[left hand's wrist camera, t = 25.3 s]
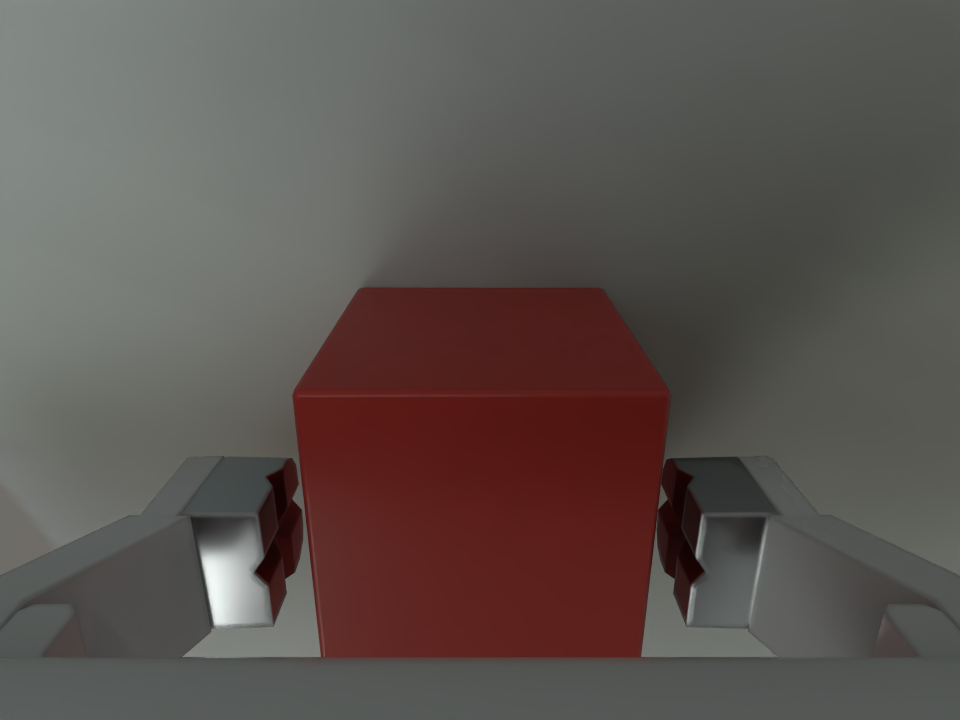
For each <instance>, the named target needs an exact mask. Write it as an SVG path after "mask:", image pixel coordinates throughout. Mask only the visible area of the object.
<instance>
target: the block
mask: <svg viewBox="0 0 960 720" xmlns="http://www.w3.org/2000/svg"><path fill="white" fill-rule="evenodd" d="M292 396H293V405H294V414H295V423H296V432H297V441H298V450H299V460H300V469H301V478H302V487H303V496H304V505H305V514H306V524H307V533H308V542H309V551H310V560H311V569H312V578H313V588H314V597H315V606H316V615H317V624H318V633H319V642H320V652H321V657H641V653H642V644H643V635H644V626H645V618H646V609H647V600H648V591H649V582H650V574H651V565H652V556H653V547H654V539H655V530H656V521H657V512H658V503H659V495H660V486H661V477H662V468H663V459H664V451H665V442H666V433H667V424H668V416H669V407H670V398H671V394H670V391H669V389H668V388H667V386H666V385H665V383H664V382H663V380H662V378H661V377H660V375H659V374H658V372H657V371H656V369H655V368H654V366H653V365H652V363H651V362H650V360H649V359H648V357H647V356H646V354H645V353H644V351H643V350H642V348H641V347H640V345H639V344H638V342H637V340H636V339H635V337H634V336H633V334H632V333H631V331H630V330H629V328H628V327H627V325H626V324H625V322H624V321H623V319H622V318H621V316H620V315H619V313H618V312H617V310H616V309H615V307H614V306H613V304H612V303H611V301H610V299H609V298H608V296H607V295H606V293H605V292H604V290H603V289H600V288H361V289H358V291H357V292H356V294H355V295H354V297H353V299H352V300H351V302H350V303H349V305H348V306H347V308H346V310H345V311H344V313H343V314H342V316H341V317H340V319H339V320H338V322H337V324H336V325H335V327H334V328H333V330H332V331H331V333H330V335H329V336H328V338H327V339H326V341H325V342H324V344H323V346H322V347H321V349H320V350H319V352H318V353H317V355H316V357H315V358H314V360H313V361H312V363H311V364H310V366H309V367H308V369H307V371H306V372H305V374H304V375H303V377H302V378H301V380H300V382H299V383H298V385H297V386H296V388H295V389H294V392H293V395H292Z"/></svg>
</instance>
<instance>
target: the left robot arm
mask: <svg viewBox="0 0 960 720" xmlns="http://www.w3.org/2000/svg"><path fill="white" fill-rule="evenodd" d="M298 485H299V482H298V475H297V469H296V464H295V462H294V461H293V459H292V458H269V457H224V456H204V457H190V458H187V459H186V460H185V461H184V463H183V464H182V465H181V466H180V467H179V469H178V470H177V471H176V472H175V474H174V475H173V476H172V477H171V478H170V480H169V481H168V482H167V483H166V484H165V486H164V487H163V488H162V489H161V490H160V492H159V493H158V494H157V495H156V496H155V498H154V499H153V500H152V501H151V503H150V504H149V505H148V506H147V507H146V509H145V510H144V511H143V512H142V513H141V515H129V516H127V517H124V518H122V519H120V520H118V521H116V522H114V523H112V524H109V525H107V526H105V527H103V528H101V529H99V530H97V531H94V532H92V533H90V534H88V535H86V536H84V537H82V538H79V539H77V540H75V541H73V542H71V543H69V544H67V545H64V546H62V547H60V548H58V549H56V550H54V551H52V552H49V553H47V554H45V555H43V556H41V557H39V558H37V559H34V560H32V561H30V562H28V563H26V564H24V565H22V566H19V567H17V568H15V569H13V570H11V571H9V572H7V573H4V574H2V575H0V720H960V576H959V575H957V574H955V573H953V572H951V571H949V570H947V569H944V568H942V567H940V566H938V565H936V564H934V563H932V562H929V561H927V560H925V559H923V558H921V557H919V556H917V555H915V554H912V553H910V552H908V551H906V550H904V549H902V548H900V547H897V546H895V545H893V544H891V543H889V542H887V541H885V540H883V539H880V538H878V537H876V536H874V535H872V534H870V533H868V532H865V531H863V530H861V529H859V528H857V527H855V526H853V525H850V524H848V523H846V522H844V521H842V520H840V519H838V518H836V517H833V516H831V515H819V514H818V512H817V511H816V510H815V509H814V508H813V506H812V505H811V504H810V503H809V501H808V500H807V499H806V498H805V497H804V495H803V494H802V493H801V492H800V491H799V489H798V488H797V487H796V486H795V485H794V483H793V482H792V481H791V480H790V479H789V477H788V476H787V475H786V474H785V473H784V471H783V470H782V469H781V468H780V467H779V465H778V464H777V463H776V462H775V460H774V459H773V458H770V457H768V456H751V457H703V458H671V459H666V462H665V465H664V468H663V474H662V481H661V485H662V487H663V489H664V492H665V494H666V496H667V498H668V500H667V501H666V502H665V503H664V504H663V505H662V506H661V507H660V508H659V510H658V519H657V544H658V551H659V556H660V560H661V563H662V566H663V568H664V571H665V573H667V574H668V575H670V576H671V577H672V578H674V579H675V582H674V591H673V594H674V597H675V599H676V602H677V604H678V607H679V609H680V611H681V614H682V616H683V619H684V621H685V624H686V626H687V627H709V628H746V629H749V632H750V633H751V634H752V635H753V636H755V637H756V638H757V639H758V640H759V641H760V642H762V643H763V644H764V645H765V646H766V647H767V648H769V649H770V650H771V651H772V652H773V653H774V654H776V655H777V656H778V657H182V656H183V655H185V654H186V653H187V652H188V651H189V650H191V649H192V648H193V647H194V646H195V645H196V644H198V643H199V642H200V641H201V640H202V639H203V638H205V637H206V636H207V635H208V634H209V633H210V632H211V629H214V628H250V627H273V626H274V624H275V621H276V619H277V616H278V614H279V611H280V609H281V606H282V604H283V601H284V599H285V596H286V594H287V591H286V583H285V579H286V578H287V577H289V576H290V575H292V574H293V573H295V571H296V568H297V565H298V563H299V560H300V555H301V549H302V543H303V518H302V510H301V509H300V507H299V506H298V505H297V504H296V503H295V502H294V501H293V500H292V498H293V496H294V494H295V491H296V489H297V487H298Z"/></svg>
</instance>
